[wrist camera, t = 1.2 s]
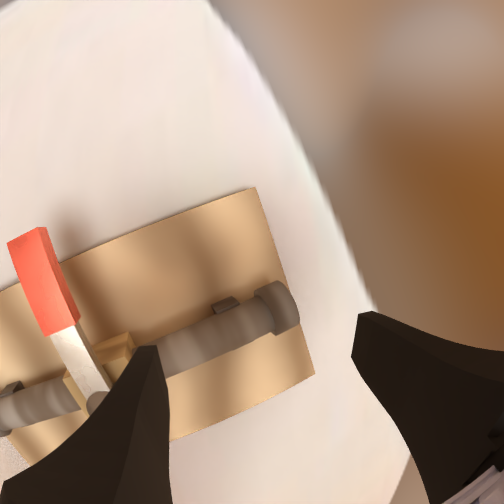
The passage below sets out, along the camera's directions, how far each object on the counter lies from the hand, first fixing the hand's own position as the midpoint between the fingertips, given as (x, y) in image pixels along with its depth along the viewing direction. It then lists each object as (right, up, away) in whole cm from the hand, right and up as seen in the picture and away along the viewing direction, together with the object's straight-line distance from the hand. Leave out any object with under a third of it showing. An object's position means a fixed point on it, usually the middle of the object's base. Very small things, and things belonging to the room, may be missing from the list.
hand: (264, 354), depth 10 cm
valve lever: (-10, -1, +4) cm, 11 cm away
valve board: (-11, -4, +10) cm, 15 cm away
